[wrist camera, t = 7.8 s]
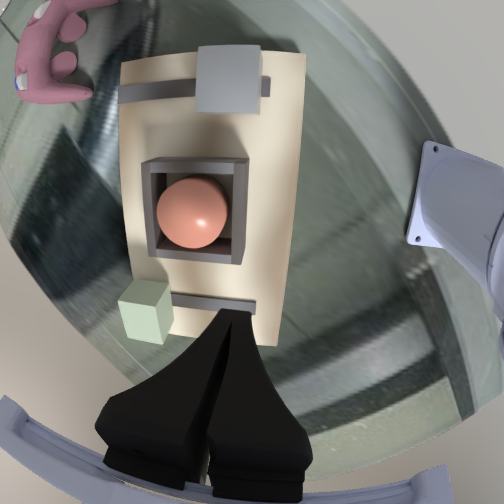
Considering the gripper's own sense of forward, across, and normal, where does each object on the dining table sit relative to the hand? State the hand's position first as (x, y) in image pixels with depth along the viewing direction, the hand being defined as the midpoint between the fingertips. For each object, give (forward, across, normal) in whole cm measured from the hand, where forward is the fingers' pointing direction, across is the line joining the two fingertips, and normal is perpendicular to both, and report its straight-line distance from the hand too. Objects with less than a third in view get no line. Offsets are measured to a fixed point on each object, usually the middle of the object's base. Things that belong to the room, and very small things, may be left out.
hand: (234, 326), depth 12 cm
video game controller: (+10, +15, -16) cm, 24 cm away
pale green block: (+7, +7, +5) cm, 12 cm away
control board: (+9, +4, -2) cm, 10 cm away
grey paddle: (+7, +2, -11) cm, 13 cm away
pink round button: (+7, +3, -3) cm, 9 cm away
